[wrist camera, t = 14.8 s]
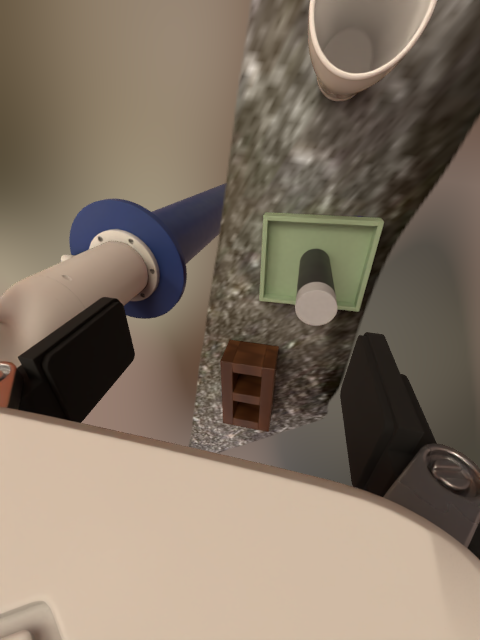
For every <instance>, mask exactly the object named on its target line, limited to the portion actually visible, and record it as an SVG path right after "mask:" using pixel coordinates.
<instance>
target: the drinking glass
mask: <svg viewBox="0 0 480 640" xmlns="http://www.w3.org/2000/svg"><path fill="white" fill-rule="evenodd" d="M436 3H437V0H310V7H309V17H308V45H309V53H310V58H311V62H312V65H313V68H314V71H315V74H316V76H317V82H318V86H319V88H320V90H321V92H322V93H323V94H324V95H325V96H326V97H327V98H328V99H330V100H333V101H345V100H348V99H350V98H352V97H354V96H355V95H356V94H358V93H359V92H361V91H363V90H365V89H367V88H369V87H371V86H373V85H374V84H376V83H377V82H379V81H380V80H381V79H383V78H384V77H385V76H386V75H387V74H388V73H390V72H391V71H392V70H393V69H394V68H395V67H396V66H397V65H398V64H399V62H400V61H401V60H402V59H403V58H404V57H405V55H406V54H407V53H408V52H409V50H410V49H411V48H412V47H413V45H414V44H415V43H416V41H417V40H418V39H419V37H420V36H421V34H422V32H423V31H424V29H425V27H426V25H427V24H428V22H429V20H430V17H431V15H432V13H433V11H434V8H435V5H436Z"/></svg>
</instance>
